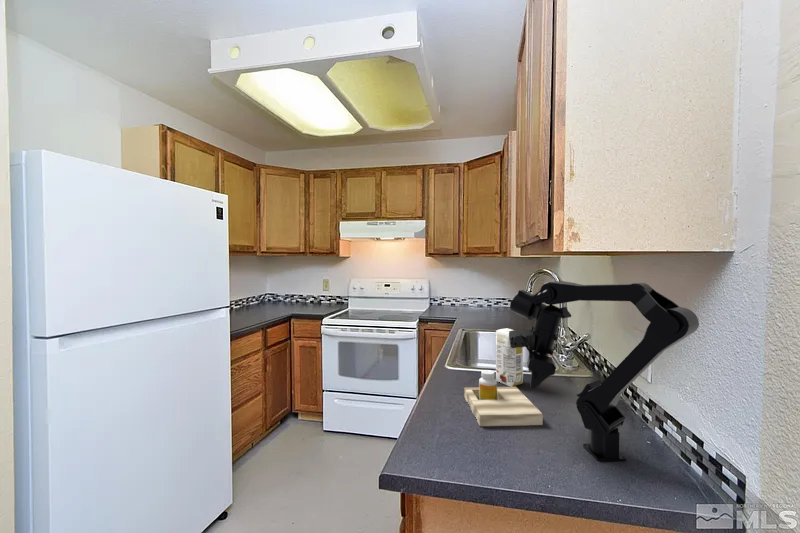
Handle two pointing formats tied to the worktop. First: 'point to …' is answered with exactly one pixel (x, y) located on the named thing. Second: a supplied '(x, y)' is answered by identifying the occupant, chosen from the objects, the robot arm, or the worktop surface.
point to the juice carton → (508, 360)
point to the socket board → (503, 408)
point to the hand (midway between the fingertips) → (531, 379)
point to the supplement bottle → (487, 386)
